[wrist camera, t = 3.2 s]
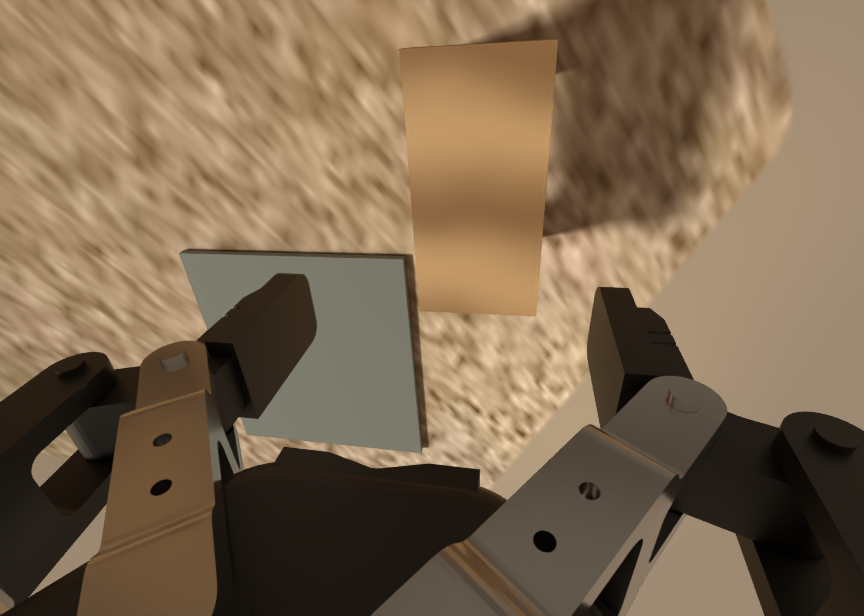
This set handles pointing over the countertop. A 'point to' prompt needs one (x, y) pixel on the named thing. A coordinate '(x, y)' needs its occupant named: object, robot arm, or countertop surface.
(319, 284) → the mat
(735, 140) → the countertop surface
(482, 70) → the tan wooden block
